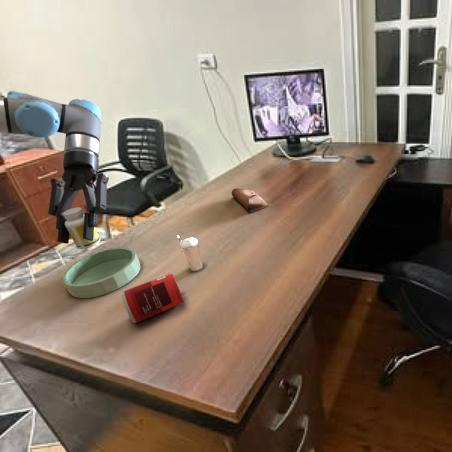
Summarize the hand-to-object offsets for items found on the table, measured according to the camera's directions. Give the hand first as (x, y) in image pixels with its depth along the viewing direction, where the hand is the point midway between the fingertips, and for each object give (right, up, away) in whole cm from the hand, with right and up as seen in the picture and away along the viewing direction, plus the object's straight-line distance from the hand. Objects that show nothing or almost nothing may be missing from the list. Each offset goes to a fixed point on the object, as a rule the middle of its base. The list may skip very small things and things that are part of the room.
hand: (75, 240), depth 86 cm
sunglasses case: (+32, +13, +46) cm, 58 cm away
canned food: (+27, -11, -3) cm, 29 cm away
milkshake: (+25, -8, +11) cm, 29 cm away
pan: (0, -11, +11) cm, 15 cm away
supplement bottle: (0, -1, +5) cm, 5 cm away
